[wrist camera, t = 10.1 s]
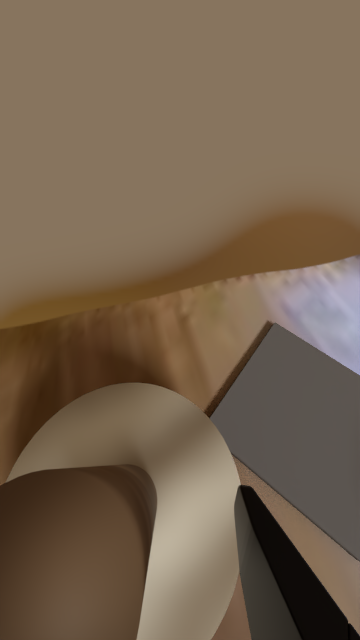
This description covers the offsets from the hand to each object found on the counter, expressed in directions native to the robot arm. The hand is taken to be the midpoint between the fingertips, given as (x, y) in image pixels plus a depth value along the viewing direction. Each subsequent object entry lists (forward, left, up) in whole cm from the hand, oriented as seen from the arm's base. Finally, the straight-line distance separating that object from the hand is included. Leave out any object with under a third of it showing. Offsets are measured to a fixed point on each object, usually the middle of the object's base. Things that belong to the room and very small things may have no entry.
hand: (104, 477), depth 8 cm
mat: (-9, -12, -12) cm, 19 cm away
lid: (-1, +1, -7) cm, 8 cm away
